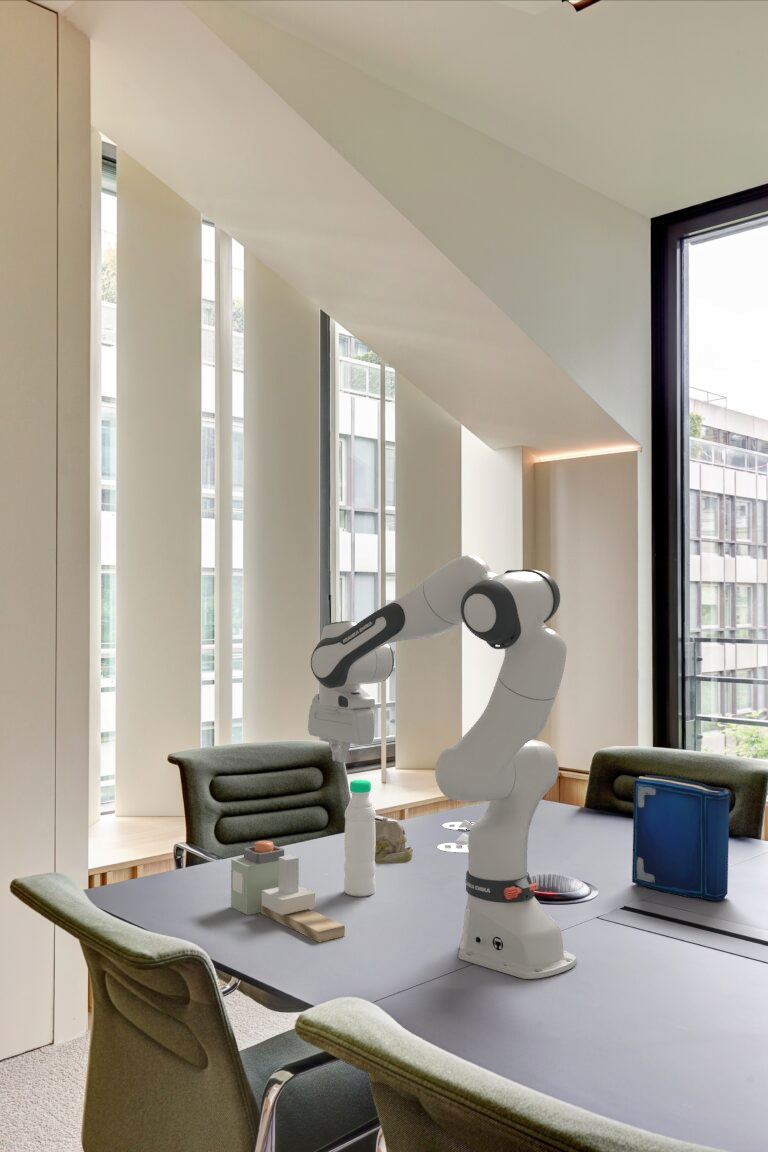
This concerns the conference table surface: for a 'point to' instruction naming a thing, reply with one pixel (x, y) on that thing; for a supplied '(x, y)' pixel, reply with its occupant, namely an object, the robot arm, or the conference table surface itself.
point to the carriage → (288, 890)
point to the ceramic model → (391, 842)
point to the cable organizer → (463, 837)
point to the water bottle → (360, 841)
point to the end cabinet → (253, 878)
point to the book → (680, 837)
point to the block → (308, 923)
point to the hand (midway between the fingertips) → (339, 761)
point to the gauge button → (263, 846)
